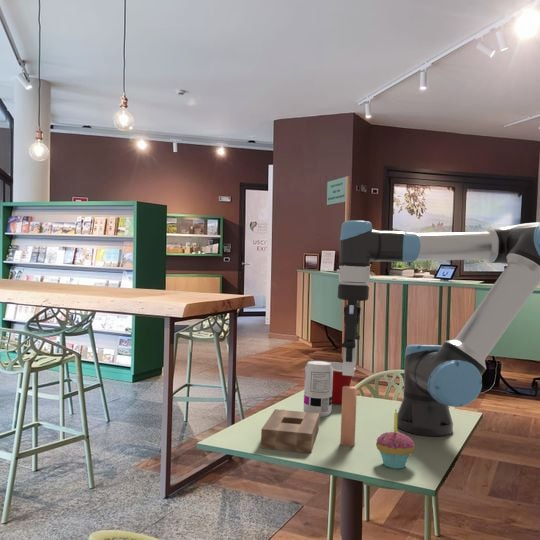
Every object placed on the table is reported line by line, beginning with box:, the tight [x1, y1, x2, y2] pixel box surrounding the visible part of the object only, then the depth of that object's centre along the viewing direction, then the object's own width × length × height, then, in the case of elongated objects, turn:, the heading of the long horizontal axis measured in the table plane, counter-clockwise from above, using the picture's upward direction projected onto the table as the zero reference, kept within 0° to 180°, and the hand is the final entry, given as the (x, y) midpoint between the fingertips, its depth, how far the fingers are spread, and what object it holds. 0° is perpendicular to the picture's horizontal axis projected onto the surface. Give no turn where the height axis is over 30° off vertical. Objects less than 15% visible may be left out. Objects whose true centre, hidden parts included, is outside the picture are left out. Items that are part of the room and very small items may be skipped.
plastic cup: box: [329, 361, 356, 405], centre depth 174 cm, size 11×11×12 cm
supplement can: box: [303, 360, 333, 418], centre depth 160 cm, size 8×8×15 cm
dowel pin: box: [339, 385, 358, 447], centre depth 134 cm, size 4×4×14 cm
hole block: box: [260, 408, 320, 454], centre depth 136 cm, size 12×18×4 cm, turn 169°
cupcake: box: [375, 410, 416, 470], centre depth 121 cm, size 9×8×12 cm
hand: (349, 370), depth 133 cm, fingers open, 13 cm apart
